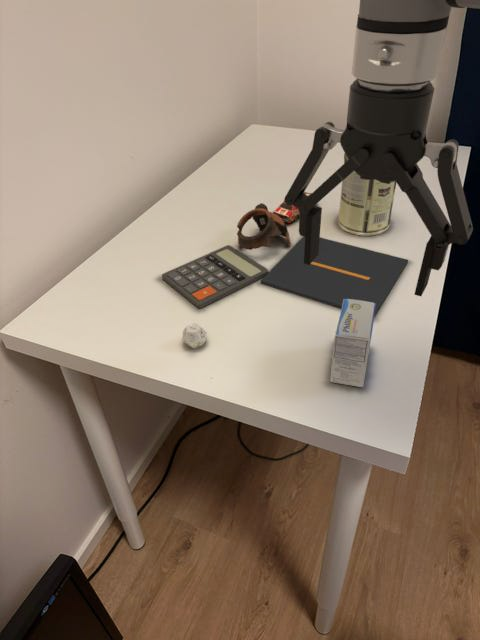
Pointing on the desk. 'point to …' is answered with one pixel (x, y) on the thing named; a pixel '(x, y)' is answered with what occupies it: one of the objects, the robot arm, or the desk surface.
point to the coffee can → (365, 205)
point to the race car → (288, 211)
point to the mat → (337, 274)
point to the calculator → (214, 275)
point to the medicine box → (352, 342)
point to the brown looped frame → (262, 228)
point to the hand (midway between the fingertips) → (363, 273)
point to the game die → (194, 335)
